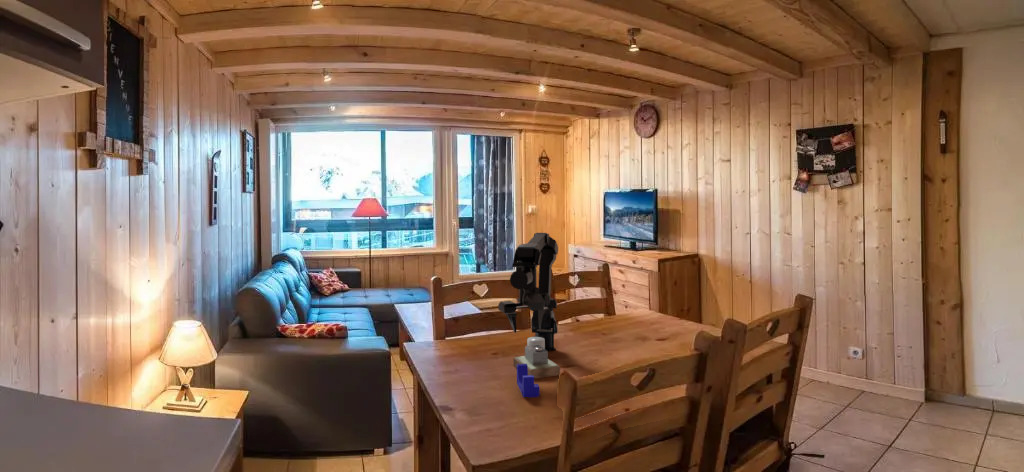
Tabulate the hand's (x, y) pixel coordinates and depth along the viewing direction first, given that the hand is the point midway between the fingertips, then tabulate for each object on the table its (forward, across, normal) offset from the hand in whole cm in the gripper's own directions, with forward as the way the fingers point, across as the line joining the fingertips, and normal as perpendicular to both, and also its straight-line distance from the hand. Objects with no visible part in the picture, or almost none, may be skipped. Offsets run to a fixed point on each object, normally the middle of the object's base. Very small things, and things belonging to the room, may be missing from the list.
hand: (527, 330), depth 174 cm
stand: (+12, +1, -3) cm, 13 cm away
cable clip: (+12, -8, -18) cm, 24 cm away
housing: (+9, +1, -3) cm, 10 cm away
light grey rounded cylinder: (+12, +6, +7) cm, 16 cm away
